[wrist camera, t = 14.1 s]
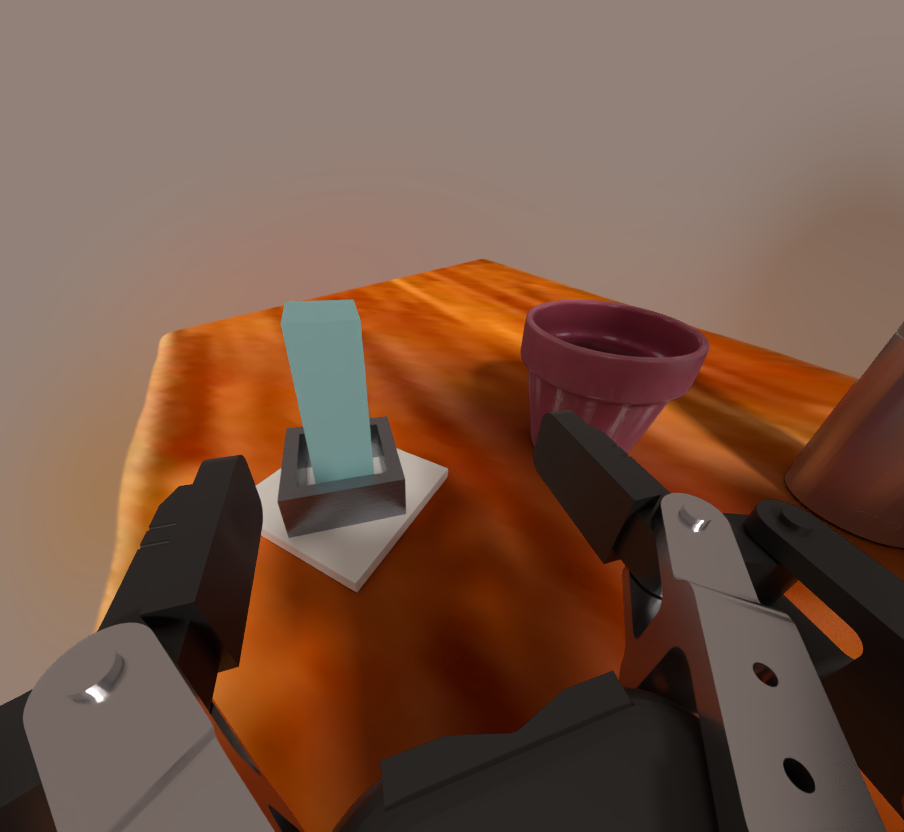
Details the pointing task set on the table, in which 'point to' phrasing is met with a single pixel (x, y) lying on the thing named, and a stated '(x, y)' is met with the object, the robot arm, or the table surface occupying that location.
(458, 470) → the table surface
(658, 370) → the plant pot
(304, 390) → the teal peg
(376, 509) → the metal collar
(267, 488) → the base board
